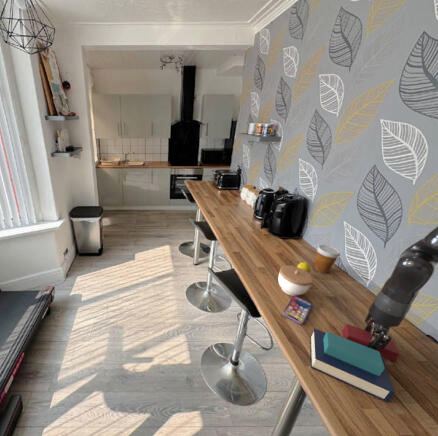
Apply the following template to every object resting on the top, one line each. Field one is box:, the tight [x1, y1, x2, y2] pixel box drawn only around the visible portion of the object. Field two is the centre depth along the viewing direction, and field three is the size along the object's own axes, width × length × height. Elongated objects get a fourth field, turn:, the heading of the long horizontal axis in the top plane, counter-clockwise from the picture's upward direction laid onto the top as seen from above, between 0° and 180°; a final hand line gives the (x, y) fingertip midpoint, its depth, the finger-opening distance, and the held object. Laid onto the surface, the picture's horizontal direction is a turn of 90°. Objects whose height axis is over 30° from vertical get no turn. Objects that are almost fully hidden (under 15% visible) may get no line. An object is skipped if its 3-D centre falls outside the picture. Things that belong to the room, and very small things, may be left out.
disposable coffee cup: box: [313, 244, 341, 274], centre depth 119 cm, size 10×10×12 cm
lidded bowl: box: [277, 265, 314, 297], centre depth 103 cm, size 13×13×11 cm
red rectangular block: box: [342, 323, 401, 362], centre depth 80 cm, size 13×6×4 cm, turn 59°
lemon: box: [296, 261, 311, 274], centre depth 114 cm, size 6×6×8 cm
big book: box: [309, 327, 396, 403], centre depth 73 cm, size 18×13×4 cm
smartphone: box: [282, 295, 313, 325], centre depth 95 cm, size 1×7×15 cm
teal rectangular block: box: [323, 331, 385, 376], centre depth 71 cm, size 13×6×4 cm, turn 59°
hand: (367, 343), depth 81 cm, fingers closed on red rectangular block, 6 cm apart
